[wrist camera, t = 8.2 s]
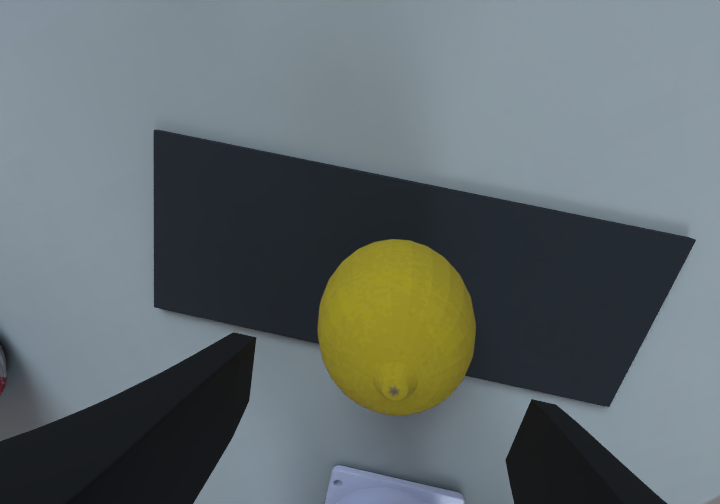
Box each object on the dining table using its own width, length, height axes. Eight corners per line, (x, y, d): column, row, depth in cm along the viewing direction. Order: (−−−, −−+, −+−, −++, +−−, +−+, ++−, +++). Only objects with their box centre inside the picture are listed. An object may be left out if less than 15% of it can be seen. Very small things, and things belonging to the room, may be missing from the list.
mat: (604, 401, 18) (609, 407, 18) (158, 304, 19) (153, 307, 18) (689, 237, 15) (696, 239, 15) (159, 129, 16) (153, 129, 16)
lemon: (339, 215, 16) (289, 283, 8) (462, 224, 16) (526, 305, 8) (335, 323, 18) (290, 460, 10) (446, 333, 17) (486, 485, 10)
